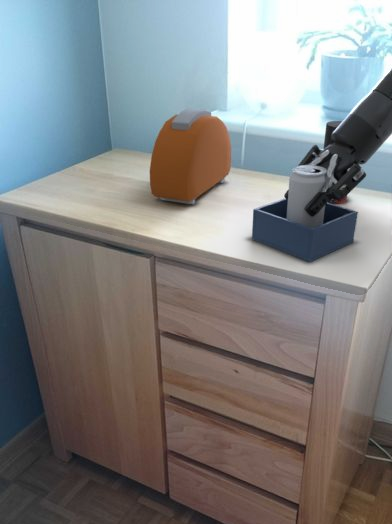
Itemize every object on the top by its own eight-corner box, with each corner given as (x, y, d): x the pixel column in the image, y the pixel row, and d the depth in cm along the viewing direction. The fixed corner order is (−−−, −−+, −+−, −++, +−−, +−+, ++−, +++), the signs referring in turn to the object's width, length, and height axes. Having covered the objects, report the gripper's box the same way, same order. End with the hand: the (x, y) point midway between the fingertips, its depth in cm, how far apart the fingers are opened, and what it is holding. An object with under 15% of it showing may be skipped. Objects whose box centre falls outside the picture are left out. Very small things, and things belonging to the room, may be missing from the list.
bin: (353, 242, 99) (358, 211, 96) (309, 262, 92) (313, 230, 89) (295, 222, 107) (298, 193, 104) (251, 239, 100) (253, 209, 97)
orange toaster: (197, 174, 133) (196, 98, 124) (232, 178, 130) (234, 101, 121) (149, 204, 116) (144, 119, 107) (188, 210, 113) (186, 123, 103)
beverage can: (318, 246, 96) (326, 176, 89) (281, 241, 98) (286, 172, 91) (323, 232, 101) (331, 165, 94) (288, 228, 103) (294, 162, 96)
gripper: (331, 104, 96) (265, 181, 99) (383, 121, 85) (307, 207, 88) (352, 133, 100) (289, 206, 104) (404, 153, 89) (332, 234, 92)
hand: (297, 206), depth 96 cm, fingers closed on beverage can, 6 cm apart
